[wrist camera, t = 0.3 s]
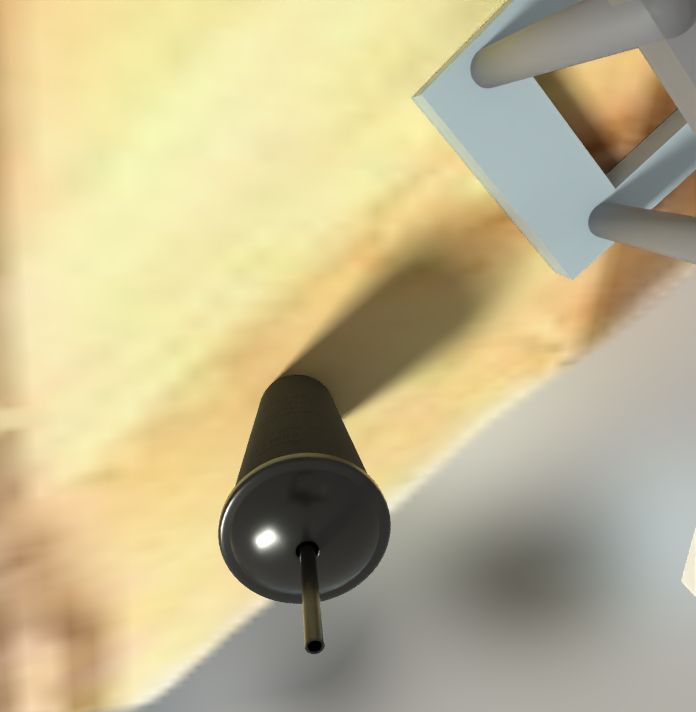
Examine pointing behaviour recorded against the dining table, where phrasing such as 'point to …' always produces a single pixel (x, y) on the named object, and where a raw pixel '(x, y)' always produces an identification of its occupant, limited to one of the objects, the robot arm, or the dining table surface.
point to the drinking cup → (302, 506)
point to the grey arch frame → (555, 137)
